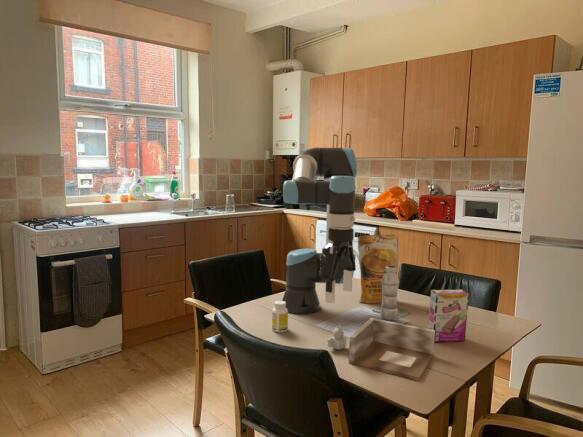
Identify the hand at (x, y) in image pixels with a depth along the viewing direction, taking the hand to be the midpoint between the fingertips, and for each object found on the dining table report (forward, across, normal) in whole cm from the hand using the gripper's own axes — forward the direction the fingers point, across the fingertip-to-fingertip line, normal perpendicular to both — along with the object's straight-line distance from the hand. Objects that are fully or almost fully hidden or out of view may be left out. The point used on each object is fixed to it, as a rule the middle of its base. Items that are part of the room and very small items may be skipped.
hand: (339, 296), depth 133 cm
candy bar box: (+17, +26, -28) cm, 41 cm away
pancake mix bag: (+17, +53, +5) cm, 56 cm away
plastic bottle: (+17, +34, -6) cm, 38 cm away
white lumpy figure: (+17, 0, 0) cm, 17 cm away
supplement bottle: (+17, +4, +23) cm, 29 cm away
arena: (+17, +2, -17) cm, 24 cm away
